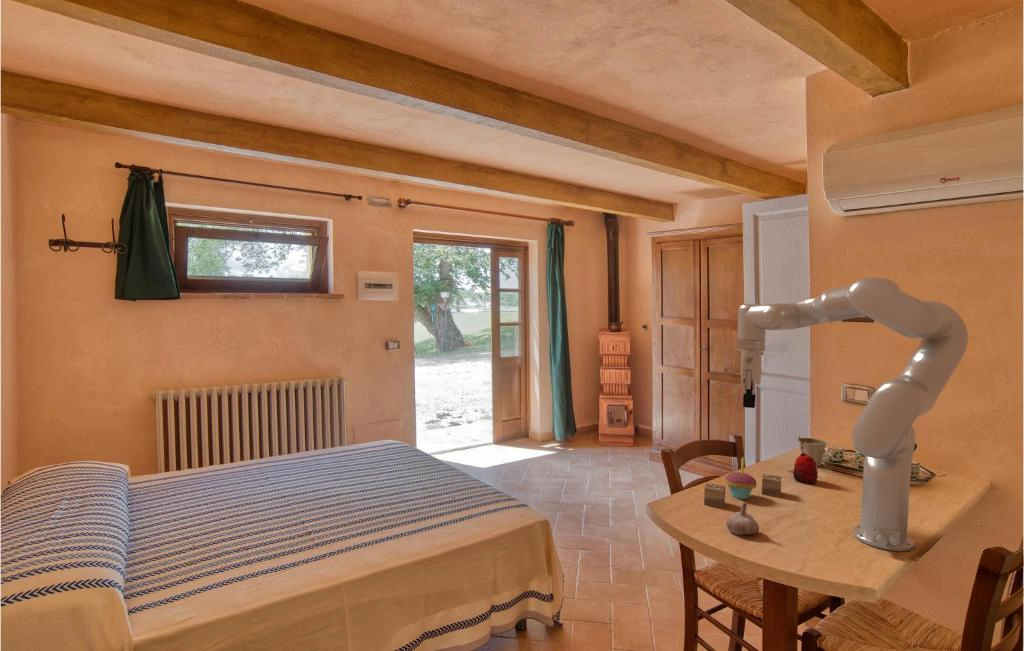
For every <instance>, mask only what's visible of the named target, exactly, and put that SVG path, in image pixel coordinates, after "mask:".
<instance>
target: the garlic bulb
mask: <svg viewBox="0 0 1024 651" xmlns="http://www.w3.org/2000/svg"><path fill="white" fill-rule="evenodd" d="M747 505H748V503H747V502H745V501H744V502H743V503H742V507H741V510H740V511H737V512H735V513H734V514H732V515H731V516H729V517H728V518H727V520H726V522H725V525H726V528H727V530H728V531H730V532H731V533H732V534H733V533H734V534H735V535H738V536H744V535H755V534H757V533H758V532H759V530H760V526H759V523H758V521H756V520H755V517H753V516H752V514H750V513H747V510H746V509H747Z"/></svg>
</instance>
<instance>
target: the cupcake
mask: <svg viewBox="0 0 1024 651" xmlns="http://www.w3.org/2000/svg"><path fill="white" fill-rule="evenodd" d="M744 466H745V458H744V457H742V458H741V465H740V471H738V472H737V471H734V472H731V473H730V474H728V475H726V476H725V484H726V485H727V486H728V488H729V491H730V495H731V496H732V497H733V498H735V499H739V500H747V499H749V497H750V494H751V492H752V490H753V489H755V488H757V481H756V478H754V476H752V475H751V474H748V473H745V472H744Z"/></svg>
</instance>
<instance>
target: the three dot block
mask: <svg viewBox="0 0 1024 651" xmlns="http://www.w3.org/2000/svg"><path fill="white" fill-rule="evenodd" d="M703 494H704V496H703V498H704V499H703V505H704V506H710V507H713V508H720V509H723V508H724V505H725V503H726V485H724V484H723V485H722V484H716V483H712V482H706V485H705V486H704V492H703Z"/></svg>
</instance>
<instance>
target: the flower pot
mask: <svg viewBox="0 0 1024 651" xmlns="http://www.w3.org/2000/svg"><path fill="white" fill-rule="evenodd" d="M800 438H801V439H802V438H803V439H802V442H804V445H803V444H802V446H803V453H805V454H806V455H809V456H811V457H812V458H813V459H814V461H815V462H816V466H819V467H821V466H820V465H822V460H823V456H824V451H825V448H826V446H827V445H828V443H827V441H826V440H822V439H818V438H813V437H800ZM800 438H799V437H798V438H796V439H797V440H796V441H797V442H798V445H799V453H800V455H801V453H802V449H801V441H798V440H800ZM800 455H799V456H800Z"/></svg>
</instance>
